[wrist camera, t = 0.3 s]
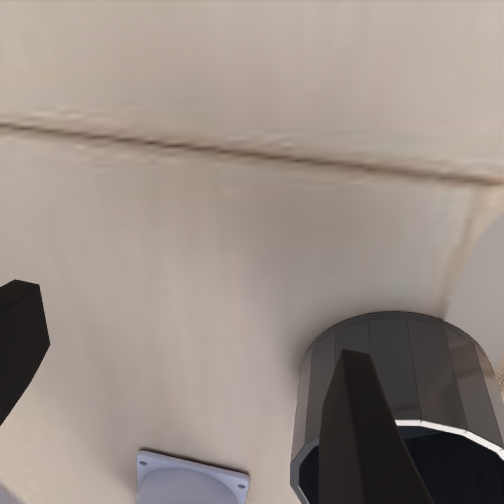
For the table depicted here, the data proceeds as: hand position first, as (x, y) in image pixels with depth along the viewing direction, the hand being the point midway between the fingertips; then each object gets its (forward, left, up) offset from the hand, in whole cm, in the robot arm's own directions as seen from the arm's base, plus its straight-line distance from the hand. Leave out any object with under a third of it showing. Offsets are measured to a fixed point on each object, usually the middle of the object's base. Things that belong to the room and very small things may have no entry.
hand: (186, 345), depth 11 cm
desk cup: (-10, -9, -10) cm, 17 cm away
